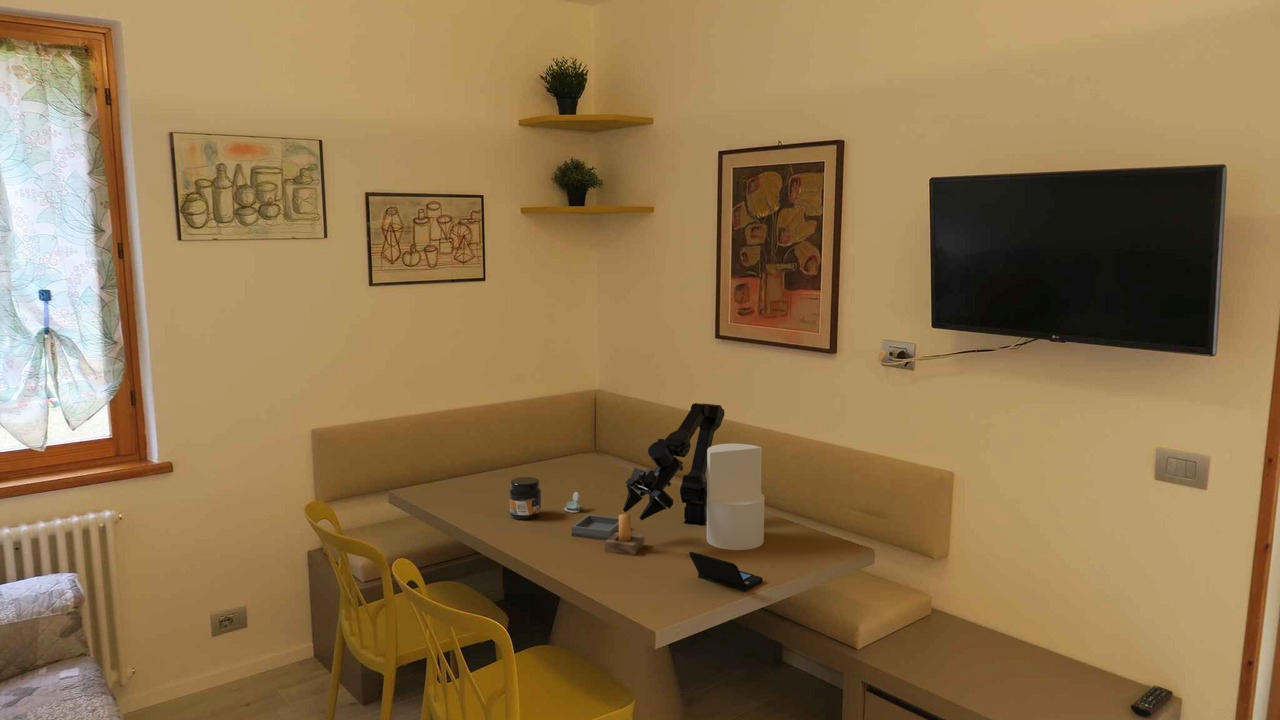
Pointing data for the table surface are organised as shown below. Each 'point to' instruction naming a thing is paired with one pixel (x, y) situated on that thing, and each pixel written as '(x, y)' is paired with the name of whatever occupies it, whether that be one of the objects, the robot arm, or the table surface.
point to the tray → (596, 527)
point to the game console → (723, 572)
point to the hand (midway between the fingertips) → (632, 515)
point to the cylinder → (734, 497)
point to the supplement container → (525, 498)
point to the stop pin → (625, 527)
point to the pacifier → (575, 507)
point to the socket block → (624, 544)
